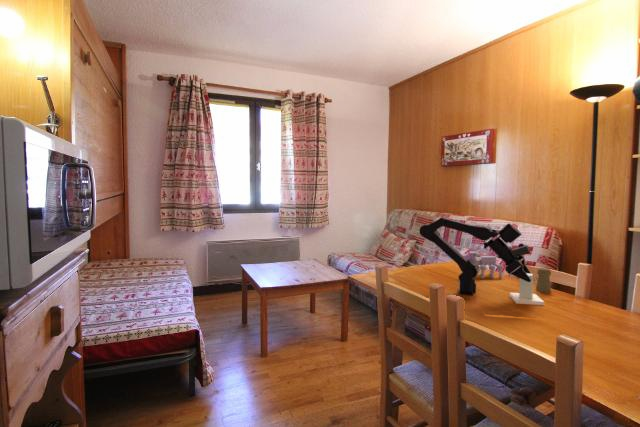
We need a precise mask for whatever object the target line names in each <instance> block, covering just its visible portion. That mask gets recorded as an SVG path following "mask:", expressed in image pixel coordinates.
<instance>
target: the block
mask: <svg viewBox="0 0 640 427" xmlns="http://www.w3.org/2000/svg"><path fill="white" fill-rule="evenodd" d="M530 273H531V272H530ZM530 273H526V274H527V275H528V277H529V278H530V279H531V282H527V281H525V280H523V279H521V278H518V281H519V282H518V283H519V284H518V285H519V286H518V287H519V289H518V291H519V292H518V293H519V297H520V298H528V299H532V297H533V294H534V293H533V292H534V291H533V288H534V287H533V286H534V284H533V283H534V274H533V273H531V274H530Z"/></svg>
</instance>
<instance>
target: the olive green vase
mask: <svg viewBox="0 0 640 427" xmlns="http://www.w3.org/2000/svg"><path fill="white" fill-rule="evenodd" d="M536 272H537V274H538V277H537V281H536V287H535V291H536V292H540V293H546V294H547V293H548V294H549V293H552V291H551V290H552V289H551V288H552V287H551V280H550V276H551V274H552V271H551V269H549V268H546V267H539V268H538V269H537V270H536Z"/></svg>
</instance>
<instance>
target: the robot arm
mask: <svg viewBox="0 0 640 427" xmlns="http://www.w3.org/2000/svg"><path fill="white" fill-rule="evenodd" d="M442 227H444V228H448V229H451V230H455V231H459V232H462V233H466V234H469V235H471V236H472V237H474V238H476V239H478V240H481V241H484V242H483V249H484V250H485V249H486V250H487V248H490V249H491V251H493V252H494V254H495V255H497V258H498V259H500V260H501V261H503V263H504V264H505V268H504V269H505V270H504V271H505V272H506V273H507V274H508V275H511V276H514V277H516V278H518V279H519V278H521V279H523V280H525V281H527V282H531V279H530V278H529V277H528V275H527V274H526V273H530V274H532V273H531V271H530V270H529V268H528V267H527V265H526V258H525V255H530V254H531V250H530V248H529V246H528V244H524V243H522V242H521V243H519V244H518V246H517V247H516V248H513V247H511V246H508V245H507V243H509V244H512V243H514V242H515V241H516V240H517V239H518V238H519V237H522V235H523V234H522V232H521V231H520V230H519V229H518V228H517V227H515V226H514V225H512V224H511V223H510V222H509V223H507V224H506V225H505V226H504V227H503V228H501V229H499V230H498V229H492V227H490V226H489V225H480V224H479V225H477V224H475V225H474V224H469V223H466V222H462V221H458V220H453V219H451V218H447V217H444V216H443V217H440V218H438V219H437V220H435V221H433V222H431V223H427V224H423V225H421V226H420V228H419V235H420V236H421V237H422V238H424V239H425V240H427V241H429V242H432V243H434V244H435V245H436V246H437V247H438V248H439V249H440V250H441V251H443V252H444V253H445V255H446V256H448V257H449V258H450V259H451V260H452V261H453V262H455V264H457V266H458V268H459V270H460V271H461V272H460V274H459V275H458V276H457V277H458V289H457V291H458V293H459V294H460V295H471V296H473V295H474V293H477V283H476V280H475V279H474V278H476V277H477V276H478V274H479V273H480V272H481V269H480V265H477V264H478V263H476V262H475V261H474V260H473V259H472V258H471V257H470V258H469V259H467V258H465V257H463V256H464V255H462V254H461V253H460V252H459V251H458V250H457V249H456V248H455V247H453V246H452V245H451V244H450V243H449V242H448V241H447V240H446V239H445V238H444V237H442V236H441V234H440V233H439V231H438V230H439V229H441V228H442Z"/></svg>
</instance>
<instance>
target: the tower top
mask: <svg viewBox="0 0 640 427" xmlns="http://www.w3.org/2000/svg"><path fill="white" fill-rule="evenodd" d="M509 297H510V298H511V299H512V300H513V302H514V303H515V304H516V305H517V304H521V305H533V306H545V300H543V299H542V298H540V296H538V295H537V294H536V293H533V297H532V299H528V298H520V297H519V292H509Z"/></svg>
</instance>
